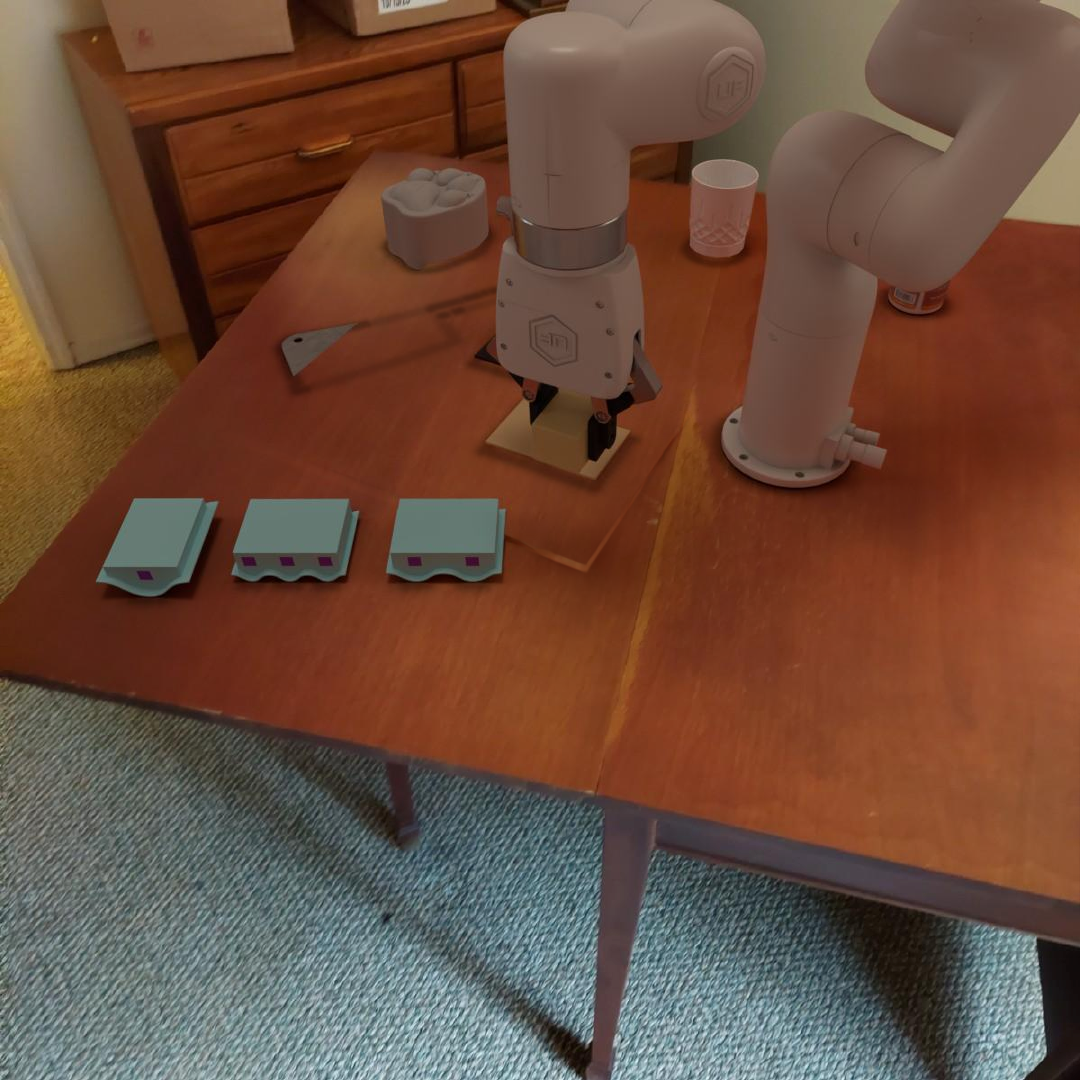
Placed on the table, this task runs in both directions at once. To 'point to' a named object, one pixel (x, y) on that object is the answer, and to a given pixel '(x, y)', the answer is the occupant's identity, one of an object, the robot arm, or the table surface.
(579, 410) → the butter
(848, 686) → the table surface
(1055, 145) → the robot arm
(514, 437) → the board
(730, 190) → the white cup
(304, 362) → the cleaver
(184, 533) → the corrugated panels
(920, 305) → the pill bottle
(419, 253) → the lumpy-topped squat cylinder
